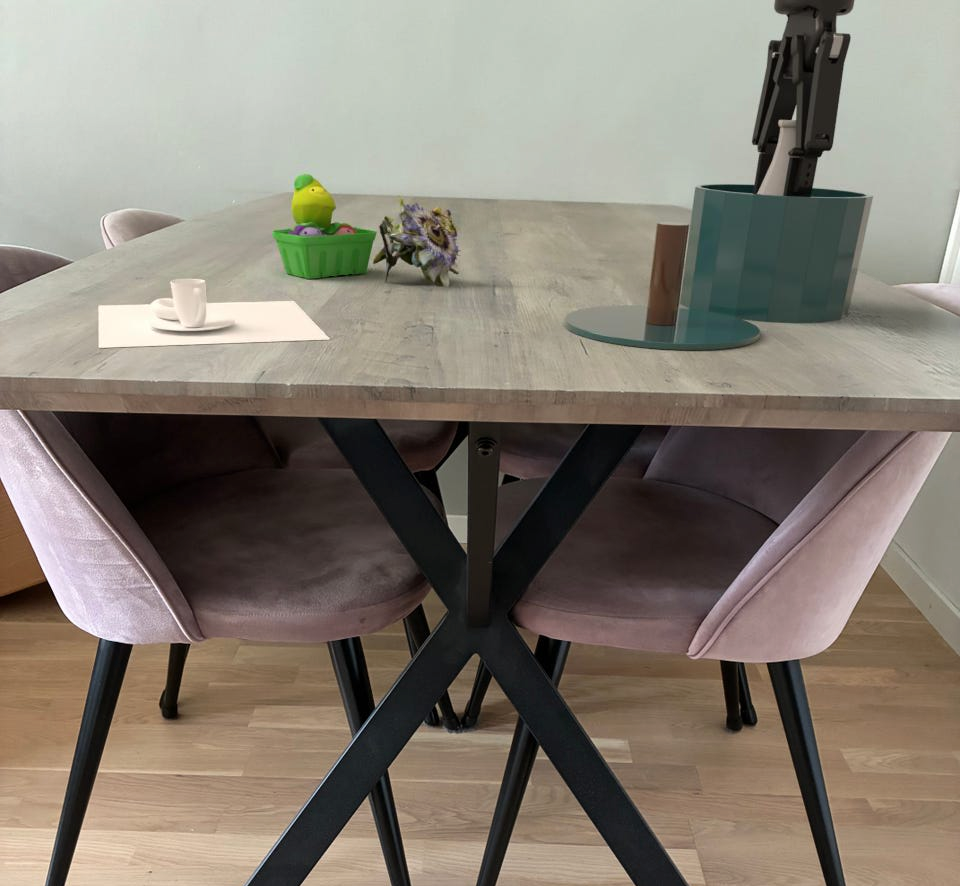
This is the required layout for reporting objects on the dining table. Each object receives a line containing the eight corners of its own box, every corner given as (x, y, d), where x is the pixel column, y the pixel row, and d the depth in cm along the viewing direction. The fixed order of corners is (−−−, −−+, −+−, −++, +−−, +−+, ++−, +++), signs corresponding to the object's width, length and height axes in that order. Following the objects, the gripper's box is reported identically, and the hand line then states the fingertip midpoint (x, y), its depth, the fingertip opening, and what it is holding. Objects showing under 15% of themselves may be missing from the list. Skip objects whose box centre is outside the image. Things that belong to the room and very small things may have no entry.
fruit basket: (305, 281, 115) (299, 178, 110) (266, 272, 121) (259, 173, 116) (380, 274, 122) (378, 177, 117) (340, 265, 128) (337, 172, 122)
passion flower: (441, 334, 117) (440, 258, 106) (359, 310, 118) (350, 232, 108) (471, 270, 122) (474, 191, 111) (392, 247, 123) (386, 167, 112)
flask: (812, 224, 105) (831, 121, 101) (812, 230, 99) (831, 121, 94) (745, 220, 107) (760, 119, 102) (741, 226, 101) (757, 119, 96)
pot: (802, 298, 117) (823, 186, 111) (876, 329, 101) (906, 199, 95) (659, 297, 114) (673, 182, 108) (712, 328, 98) (732, 195, 92)
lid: (717, 317, 104) (732, 215, 99) (790, 357, 87) (812, 237, 82) (546, 316, 101) (553, 211, 96) (588, 356, 85) (599, 233, 80)
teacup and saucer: (145, 318, 93) (139, 274, 91) (229, 316, 95) (225, 272, 93) (149, 337, 85) (143, 289, 83) (239, 334, 88) (235, 287, 86)
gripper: (744, -25, 100) (710, 212, 111) (831, -52, 83) (781, 232, 94) (811, -21, 101) (771, 214, 112) (911, -47, 84) (852, 234, 95)
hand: (776, 222), depth 103 cm, fingers closed on flask, 7 cm apart
